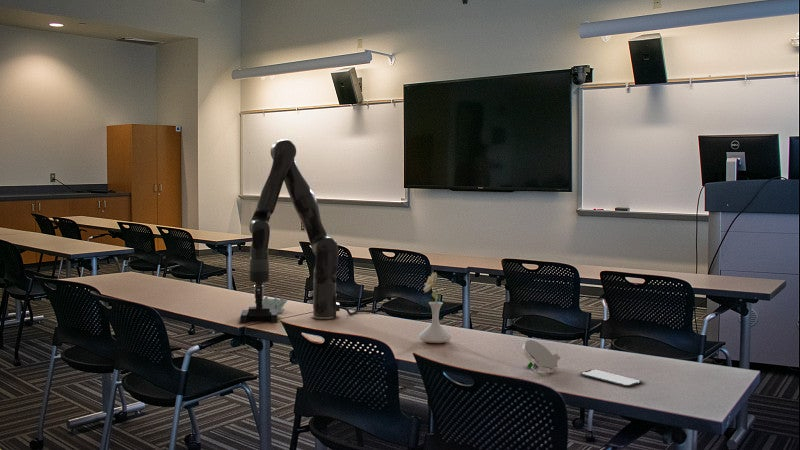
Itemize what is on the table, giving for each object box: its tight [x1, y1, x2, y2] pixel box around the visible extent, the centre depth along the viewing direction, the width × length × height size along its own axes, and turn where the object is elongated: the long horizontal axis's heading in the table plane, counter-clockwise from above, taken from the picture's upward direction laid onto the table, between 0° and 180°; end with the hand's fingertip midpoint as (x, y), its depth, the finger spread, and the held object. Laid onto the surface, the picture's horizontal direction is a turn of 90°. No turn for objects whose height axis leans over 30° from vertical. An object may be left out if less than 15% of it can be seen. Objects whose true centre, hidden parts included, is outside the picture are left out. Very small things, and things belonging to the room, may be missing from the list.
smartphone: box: [579, 368, 642, 387], centre depth 205 cm, size 8×1×16 cm
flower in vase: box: [418, 271, 453, 344], centre depth 248 cm, size 13×11×25 cm
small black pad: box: [247, 306, 270, 316], centre depth 282 cm, size 8×5×3 cm, turn 99°
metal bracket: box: [262, 296, 288, 315], centre depth 306 cm, size 14×6×15 cm
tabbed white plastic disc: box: [521, 339, 562, 374], centre depth 215 cm, size 15×8×11 cm, turn 143°
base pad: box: [239, 309, 278, 324], centre depth 285 cm, size 14×12×3 cm
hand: (259, 312), depth 282 cm, fingers closed on small black pad, 5 cm apart
